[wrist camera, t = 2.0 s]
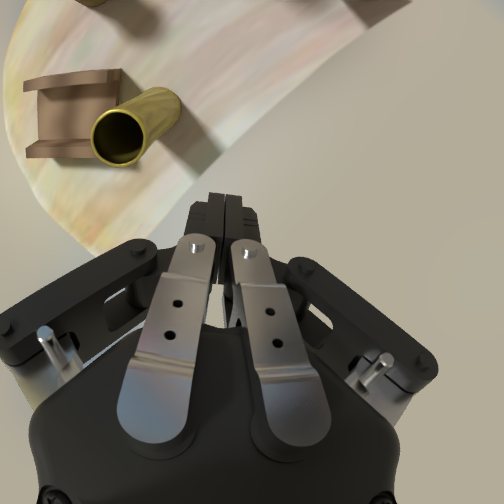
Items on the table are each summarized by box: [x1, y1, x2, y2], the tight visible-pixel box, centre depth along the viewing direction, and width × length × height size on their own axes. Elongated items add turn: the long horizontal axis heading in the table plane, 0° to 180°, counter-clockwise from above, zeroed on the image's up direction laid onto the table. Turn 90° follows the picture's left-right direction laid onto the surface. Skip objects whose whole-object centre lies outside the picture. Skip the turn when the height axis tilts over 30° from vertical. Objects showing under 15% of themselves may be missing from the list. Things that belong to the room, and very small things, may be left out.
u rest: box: [23, 69, 121, 158], centre depth 27 cm, size 13×11×4 cm
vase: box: [91, 87, 181, 167], centre depth 26 cm, size 6×6×14 cm
